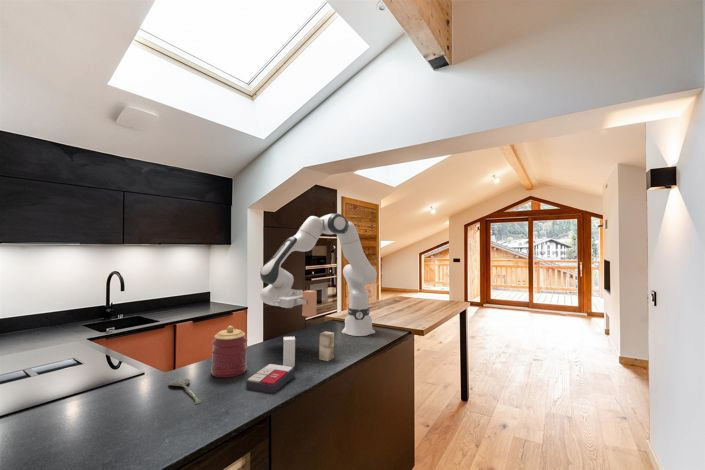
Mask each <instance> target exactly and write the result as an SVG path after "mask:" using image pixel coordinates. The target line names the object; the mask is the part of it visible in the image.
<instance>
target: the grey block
mask: <svg viewBox="0 0 705 470" xmlns="http://www.w3.org/2000/svg"><path fill="white" fill-rule="evenodd" d="M282 348H283V350H282V351H283V354H282V356H283V357H282V359H283V360H282V366H288V367H293V368H295V367H296V366H295V365H296V361H295V360H296V337H295V335H293V336H283V347H282Z"/></svg>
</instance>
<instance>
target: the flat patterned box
mask: <svg viewBox="0 0 705 470" xmlns="http://www.w3.org/2000/svg"><path fill="white" fill-rule="evenodd" d="M294 378H295V367H288V366H283V365H280V364H279V365H278V364H273V363H269V364H267V365H265V366H264V367H263V368H262V369H260V370H258V371H257V372H256V373H255V374H253V375H252V376H250V377H248V379H247V380H246V381H245V388H246V390H252V391H257V392H264V393H270V394H275V393H276V392H278V391H279V389H282V388H283V386H285V385H286V384H288V382H290V381H291V380H292V379H294Z"/></svg>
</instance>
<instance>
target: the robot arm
mask: <svg viewBox="0 0 705 470" xmlns="http://www.w3.org/2000/svg"><path fill="white" fill-rule="evenodd" d="M321 235H336V236H337V237H338V240H339V243H340V246H341V250H342V254H343V257H344V259H346V260H347V262H348V263H349V264H346V265H345V266H344V267H343V270H342V275H343V277H344V279H345V281H346V285H347V289H348V309H347V311H348V312H347V314H348V315H347V316H346V317H345V319H344V328H343V329H342V330H341V333H342V334H344V335H345V334H346V335H349V336H355V337H356V336H357V337H364V336H368V335H371V334H372V335H373V334H376V330H374V329H373V319H372V317H371V316H370V307H369V306H370V305H369V302H370V301H369V300H370V299H369V296H370V295H369V292H368V291H367V288H366V286H365V285H369V284H373V283H374V282H375V281H376V279H377V277H378V273H377V270H376V268H375V267H374V266H373V265H372V264H371V262H370V261H369V260H368V258H367V256H366V254H365V252H364V250H363V246H362V243H361V240H360V236H359V233H358V231H357V228H356V226H355V225H354V223H353V222H352V221H348V220H347V218H346V217H345V216H344V215H342V214H341V213H329V214H324V215H322V216H320V217H318V216H315V215H310V216H309V217H307V218H306V220H305V221H303V224H301V226H300V227H299V229H298V230H297V232H296V234H294V235H293V236H290V237H288V238H287V239H286V240H285V241H284V242H283V243H282V244H281V245H280V247H279V248H278V249H277V251H276V252H275V253H274V254H273V255H272V257H271V258H270V259H269V260H268V261H267V262H266V263H265V264H264V265H263V266H262V267H261V268H260V274H259V275H260V280H261V281H262V282H263V283H266V284H268V285H267V286H266V287H264V288H262V289H261V291H260V298H261V301H262V302H263V303H264V304H266V305H269V306H274V307H281V308H285V309H292V308H294V307H295V306H299V305H302V304H308V300H303V289H294V288H293V285H294V282H295V279H294V278H295V277H294V275H293V274H292V273H290V272H289V271H288V270H286V269H284V268H283V267H281V266H282V264H283V263H284V262H285V261H286V259H287V258H288V257H289V255H290V254H291V253H292V252H295V251H296V252H304V253H305V252H309V251H311V250H313V248H314V247H315V245H316V244H317V241H318V240H319V239H320V237H321Z"/></svg>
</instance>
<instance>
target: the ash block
mask: <svg viewBox="0 0 705 470" xmlns="http://www.w3.org/2000/svg"><path fill="white" fill-rule="evenodd" d="M318 347H319V351H318V353H319V356H318V358H319V359H318V360H321V361H322V360H323V361H326V362H329V361H330V360H333V359H334V355H335V350H334V349H335V332H331V331H323V332H320V333H319V345H318Z"/></svg>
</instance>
